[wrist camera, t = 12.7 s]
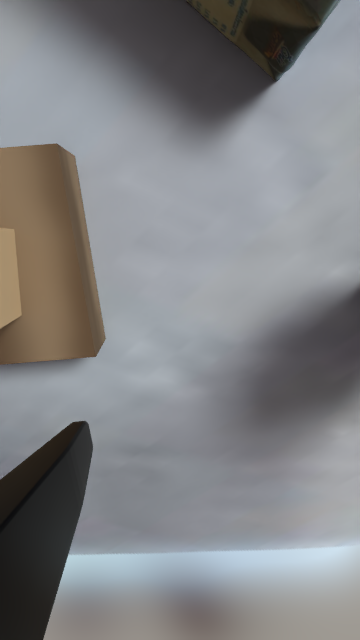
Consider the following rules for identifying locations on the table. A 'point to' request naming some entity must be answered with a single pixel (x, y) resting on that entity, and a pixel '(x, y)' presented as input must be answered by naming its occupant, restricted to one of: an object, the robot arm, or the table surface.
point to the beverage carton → (268, 27)
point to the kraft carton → (8, 278)
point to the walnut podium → (48, 258)
